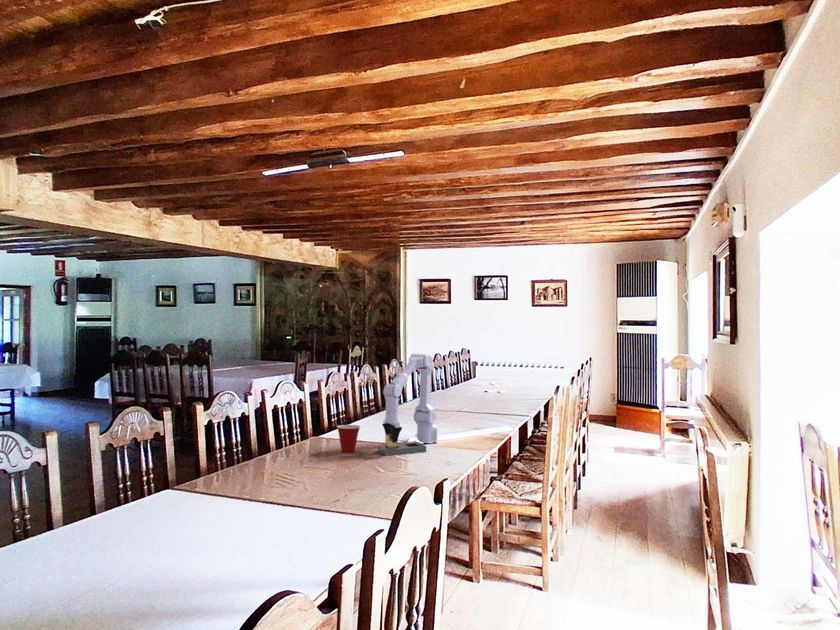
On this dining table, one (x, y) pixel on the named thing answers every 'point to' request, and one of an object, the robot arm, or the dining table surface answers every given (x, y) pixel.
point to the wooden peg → (389, 442)
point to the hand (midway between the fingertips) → (391, 440)
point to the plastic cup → (348, 437)
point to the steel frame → (402, 448)
